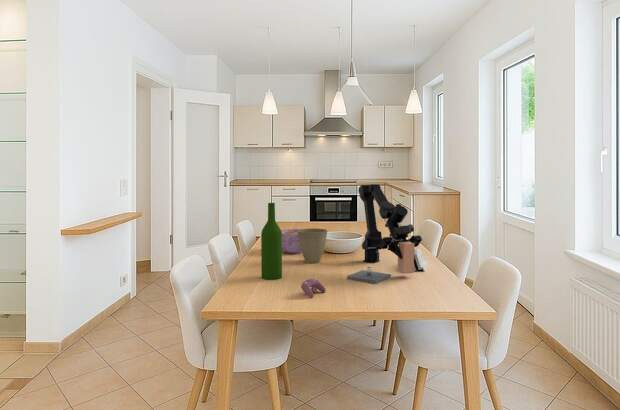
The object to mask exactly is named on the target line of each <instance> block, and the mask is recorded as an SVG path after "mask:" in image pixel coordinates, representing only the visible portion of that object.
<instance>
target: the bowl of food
mask: <svg viewBox="0 0 620 410" xmlns="http://www.w3.org/2000/svg"><path fill="white" fill-rule="evenodd" d="M300 229H301V228H288V229H287V228H286V229H285V228H284V229H281V232H282V251H284V252H286V253H287V254H291V255H292V254H294V255H296V254H301V253H302V251H301V247H300V243H299V237H298V230H300Z"/></svg>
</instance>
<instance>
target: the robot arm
mask: <svg viewBox="0 0 620 410" xmlns="http://www.w3.org/2000/svg"><path fill="white" fill-rule="evenodd" d="M357 193H358V194H359V198H360V199H361V201H362V202H363V205H364V206H363V207H364V215H365V223H366V229H367V230H366V233H365V234H364V240H363V242H362V243H361V249H362V250H364V259H363V260H362V262H367V263H375V264H376V263H378V262H380V261H381V260H380V252H379V251H380V250H386V249H387V250H388V251H390V252H392V253H393V254H394V255H396V256H397V258H398V257H399V258H400V259H402V254H401V252H400V250H399V247H398V245H399V242H411V243H414V244H415V245H414V248H417V247H419V245H420V243H421V242H422V241H423V238H422V236H421V235H412V236H410V238H408V237H409V234H412V233H413V232H415V228H414V226H413V225H414V224H410V223H409V224H407V225H401V223H403V222H404V219H405V218H406V216H407V215H408V213H409V211H408V208H407V207H405V206H403V205H402V204H401V203H396V205H394V204H393V203H392V202H390V201H389V200H388V198H387V196H386V195H385V193H384V191H383V190H382V189H381V184H378V183H375V184H374V183H371V184H361V185H360V186H359V187H358V192H357ZM374 200H375V202H376V203H377V206H378V208H379V211H378V212H379V215H380V218H381V219H383V220H386V223H385V226H384V227H385V228H388V231H389V236H382V235H383V234H382V231H379V229H378V227H377V219H376V212H375V210H376V209H375V203H374Z"/></svg>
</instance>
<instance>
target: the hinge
mask: <svg viewBox="0 0 620 410" xmlns="http://www.w3.org/2000/svg"><path fill="white" fill-rule="evenodd" d="M428 265H429V263H428V261H427V260H425V258H424V256H423V253H422V251H421V249H420V248H414V268H413V272H416V271H417V270H419V271H421V270H422V271H423V272H425V271H427V270H426V269H427V268H428Z"/></svg>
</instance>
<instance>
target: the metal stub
mask: <svg viewBox="0 0 620 410" xmlns="http://www.w3.org/2000/svg"><path fill="white" fill-rule="evenodd" d="M366 271H367V275H368V276H371V275H372V266H371V267H370V266H368V267H366Z"/></svg>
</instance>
